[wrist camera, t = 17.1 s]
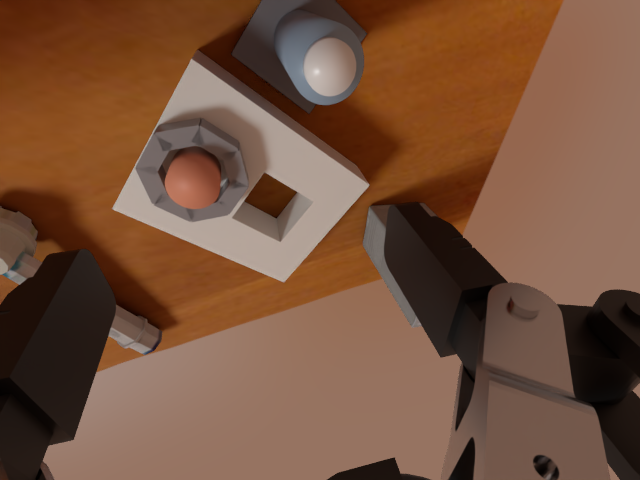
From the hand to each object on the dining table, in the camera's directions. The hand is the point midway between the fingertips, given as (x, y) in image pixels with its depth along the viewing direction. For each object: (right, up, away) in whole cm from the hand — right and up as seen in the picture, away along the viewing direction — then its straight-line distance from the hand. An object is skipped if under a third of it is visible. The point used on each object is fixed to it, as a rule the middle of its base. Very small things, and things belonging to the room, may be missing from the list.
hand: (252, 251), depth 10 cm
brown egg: (-10, +7, +22) cm, 25 cm away
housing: (-6, +8, +29) cm, 30 cm away
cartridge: (0, +18, +21) cm, 28 cm away
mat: (0, +19, +22) cm, 29 cm away
